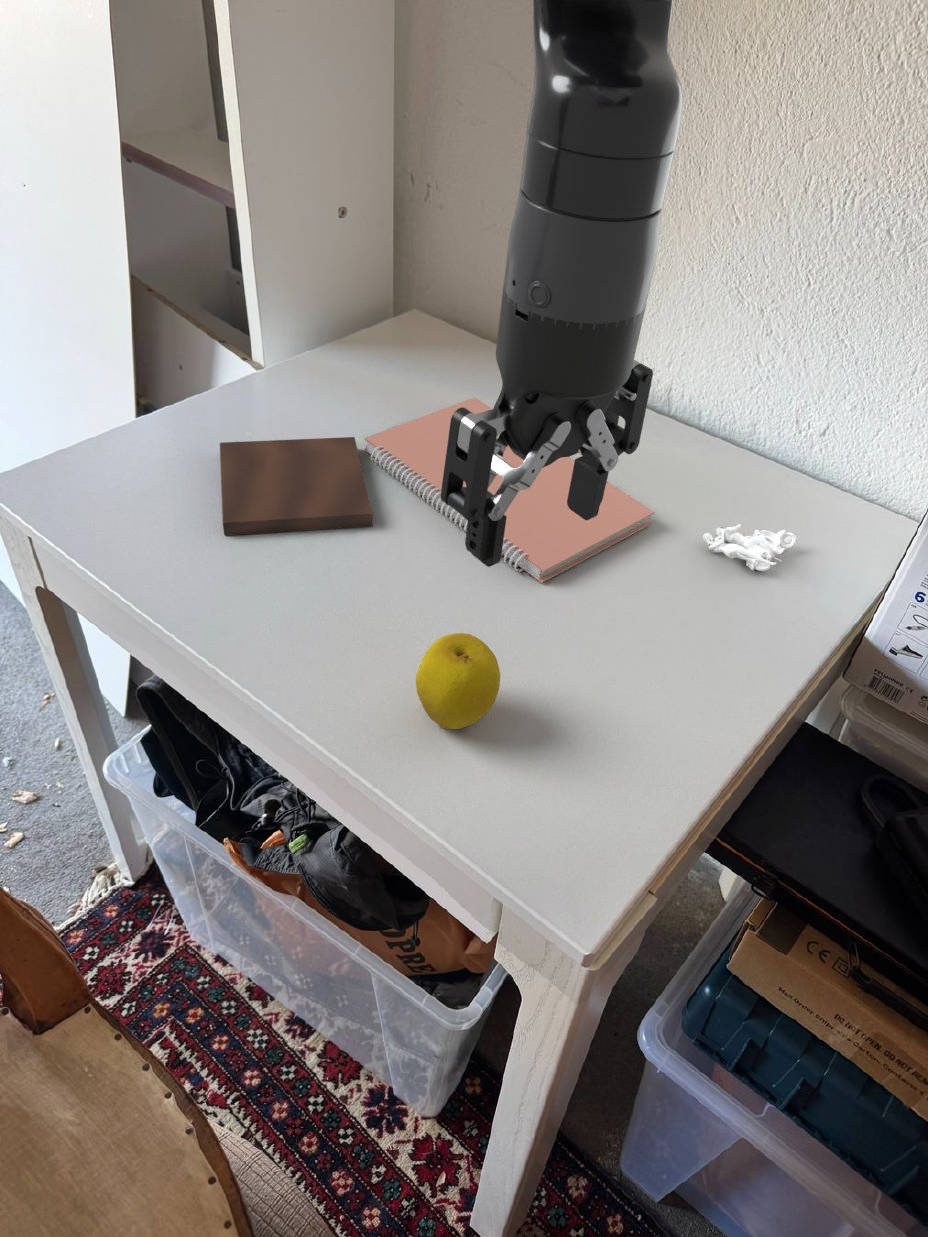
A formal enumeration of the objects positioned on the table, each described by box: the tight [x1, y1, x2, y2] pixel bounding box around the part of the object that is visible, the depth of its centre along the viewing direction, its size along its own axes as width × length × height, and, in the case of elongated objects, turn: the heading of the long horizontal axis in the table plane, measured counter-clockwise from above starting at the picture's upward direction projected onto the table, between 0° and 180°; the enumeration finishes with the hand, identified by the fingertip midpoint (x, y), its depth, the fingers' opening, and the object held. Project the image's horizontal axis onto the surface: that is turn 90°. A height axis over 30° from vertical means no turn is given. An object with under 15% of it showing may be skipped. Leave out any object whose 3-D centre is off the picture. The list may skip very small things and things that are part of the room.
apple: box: [415, 632, 501, 730], centre depth 70 cm, size 6×6×8 cm
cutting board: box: [219, 436, 374, 536], centre depth 93 cm, size 14×14×2 cm
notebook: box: [364, 396, 656, 584], centre depth 96 cm, size 27×17×2 cm, turn 41°
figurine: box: [702, 523, 797, 572], centre depth 91 cm, size 3×8×8 cm
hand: (534, 535), depth 59 cm, fingers open, 8 cm apart
